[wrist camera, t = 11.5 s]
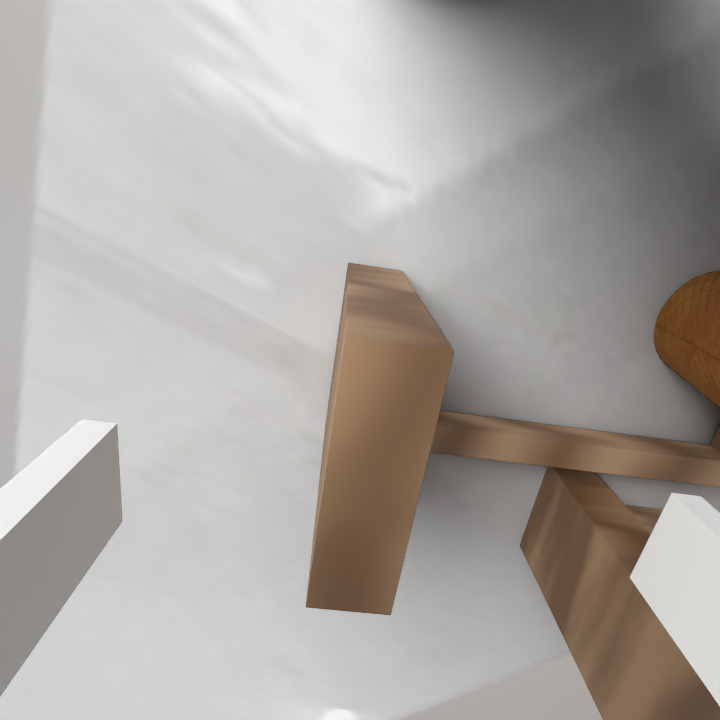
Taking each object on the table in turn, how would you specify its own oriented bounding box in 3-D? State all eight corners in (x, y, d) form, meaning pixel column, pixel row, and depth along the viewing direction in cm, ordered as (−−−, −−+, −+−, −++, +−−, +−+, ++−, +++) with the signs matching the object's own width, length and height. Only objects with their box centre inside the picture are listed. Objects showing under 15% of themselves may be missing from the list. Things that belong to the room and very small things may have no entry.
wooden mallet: (519, 545, 32) (624, 765, 20) (549, 462, 29) (689, 655, 17) (689, 563, 33) (891, 784, 20) (732, 485, 30) (988, 683, 18)
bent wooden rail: (325, 424, 28) (305, 607, 15) (373, 78, 21) (405, -75, 9) (732, 474, 30) (1000, 672, 17) (892, 172, 23) (1500, 152, 11)
